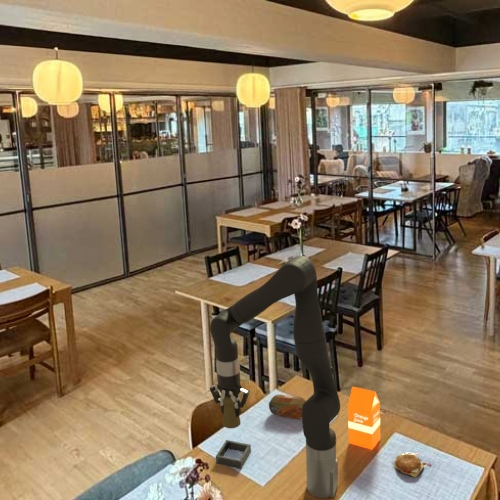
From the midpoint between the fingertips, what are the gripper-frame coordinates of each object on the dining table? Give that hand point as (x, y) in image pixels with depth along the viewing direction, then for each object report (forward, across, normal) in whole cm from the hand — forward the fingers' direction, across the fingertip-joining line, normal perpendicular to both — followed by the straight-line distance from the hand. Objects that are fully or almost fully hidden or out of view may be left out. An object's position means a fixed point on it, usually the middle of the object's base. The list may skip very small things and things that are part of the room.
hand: (231, 414), depth 183 cm
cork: (+3, 0, 0) cm, 3 cm away
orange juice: (+17, +41, +22) cm, 50 cm away
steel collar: (+17, 0, 0) cm, 17 cm away
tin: (+18, +11, +29) cm, 36 cm away
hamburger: (+18, +58, +14) cm, 63 cm away
